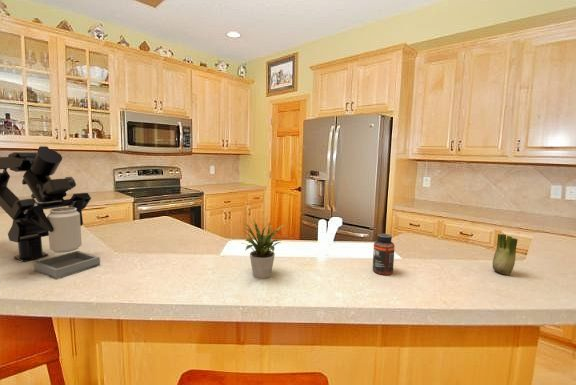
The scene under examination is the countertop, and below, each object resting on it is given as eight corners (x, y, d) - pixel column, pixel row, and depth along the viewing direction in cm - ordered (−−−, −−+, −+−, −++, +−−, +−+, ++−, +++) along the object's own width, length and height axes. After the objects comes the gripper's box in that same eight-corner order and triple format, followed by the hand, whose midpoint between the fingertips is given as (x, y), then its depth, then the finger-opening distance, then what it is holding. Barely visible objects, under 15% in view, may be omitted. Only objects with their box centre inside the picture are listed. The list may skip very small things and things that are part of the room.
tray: (34, 270, 86) (33, 262, 86) (78, 258, 96) (77, 250, 96) (56, 279, 81) (55, 270, 81) (100, 265, 91) (99, 257, 91)
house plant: (222, 279, 83) (222, 221, 81) (246, 262, 96) (246, 212, 94) (270, 289, 78) (271, 227, 76) (288, 269, 91) (290, 216, 89)
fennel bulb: (515, 277, 89) (520, 238, 88) (497, 275, 90) (501, 236, 89) (505, 270, 95) (510, 232, 93) (488, 268, 96) (492, 231, 94)
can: (64, 255, 83) (60, 212, 82) (43, 251, 85) (39, 210, 84) (88, 246, 91) (85, 207, 89) (68, 244, 93) (65, 205, 91)
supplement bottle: (394, 270, 93) (396, 234, 91) (391, 277, 87) (394, 239, 86) (373, 266, 95) (376, 231, 94) (370, 273, 90) (372, 236, 88)
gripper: (11, 169, 78) (39, 216, 75) (85, 166, 95) (111, 205, 92) (-2, 196, 82) (24, 242, 79) (71, 189, 99) (95, 227, 96)
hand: (67, 227), depth 87 cm, fingers closed on can, 7 cm apart
